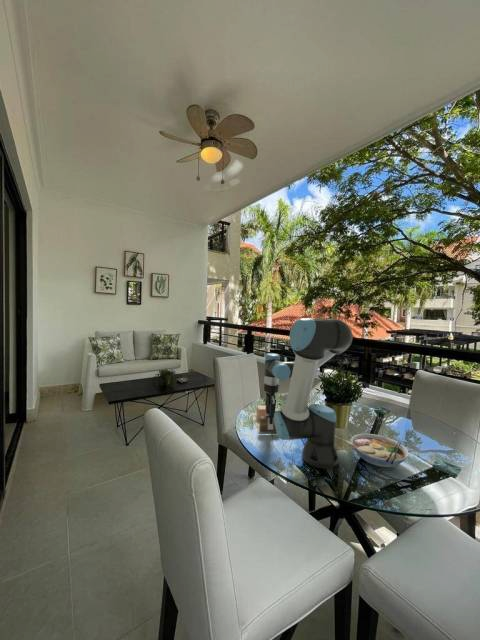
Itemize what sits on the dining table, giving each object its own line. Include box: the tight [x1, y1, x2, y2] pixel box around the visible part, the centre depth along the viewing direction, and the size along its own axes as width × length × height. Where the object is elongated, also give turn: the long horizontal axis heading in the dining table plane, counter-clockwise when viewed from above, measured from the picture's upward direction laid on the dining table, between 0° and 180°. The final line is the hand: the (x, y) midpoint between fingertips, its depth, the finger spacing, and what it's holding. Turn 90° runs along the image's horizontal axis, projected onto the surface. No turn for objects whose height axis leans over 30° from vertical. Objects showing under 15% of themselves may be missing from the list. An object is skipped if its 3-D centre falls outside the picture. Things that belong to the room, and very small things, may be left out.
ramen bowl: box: [350, 433, 410, 468], centre depth 126 cm, size 25×23×8 cm
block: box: [256, 404, 267, 420], centre depth 168 cm, size 6×6×6 cm
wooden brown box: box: [250, 412, 277, 433], centre depth 163 cm, size 24×12×8 cm, turn 8°
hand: (269, 427), depth 152 cm, fingers closed on wooden brown box, 3 cm apart
